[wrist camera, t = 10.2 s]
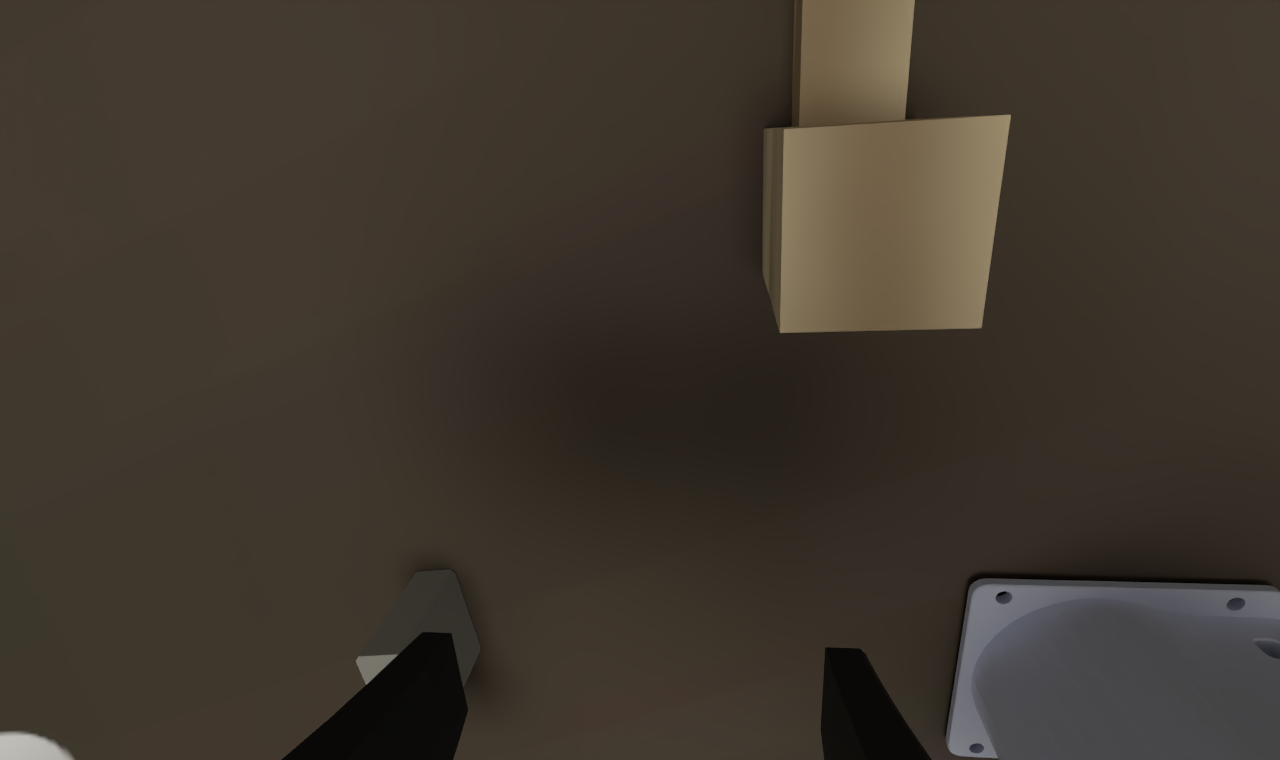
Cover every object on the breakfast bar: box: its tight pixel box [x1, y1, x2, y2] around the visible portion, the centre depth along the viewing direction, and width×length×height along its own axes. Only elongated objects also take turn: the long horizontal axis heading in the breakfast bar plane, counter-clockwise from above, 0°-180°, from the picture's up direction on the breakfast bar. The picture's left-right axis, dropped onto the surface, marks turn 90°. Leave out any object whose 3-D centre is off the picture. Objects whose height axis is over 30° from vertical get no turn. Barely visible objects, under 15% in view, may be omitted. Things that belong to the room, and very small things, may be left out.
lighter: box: [356, 569, 481, 688], centre depth 22 cm, size 7×2×8 cm, turn 10°
